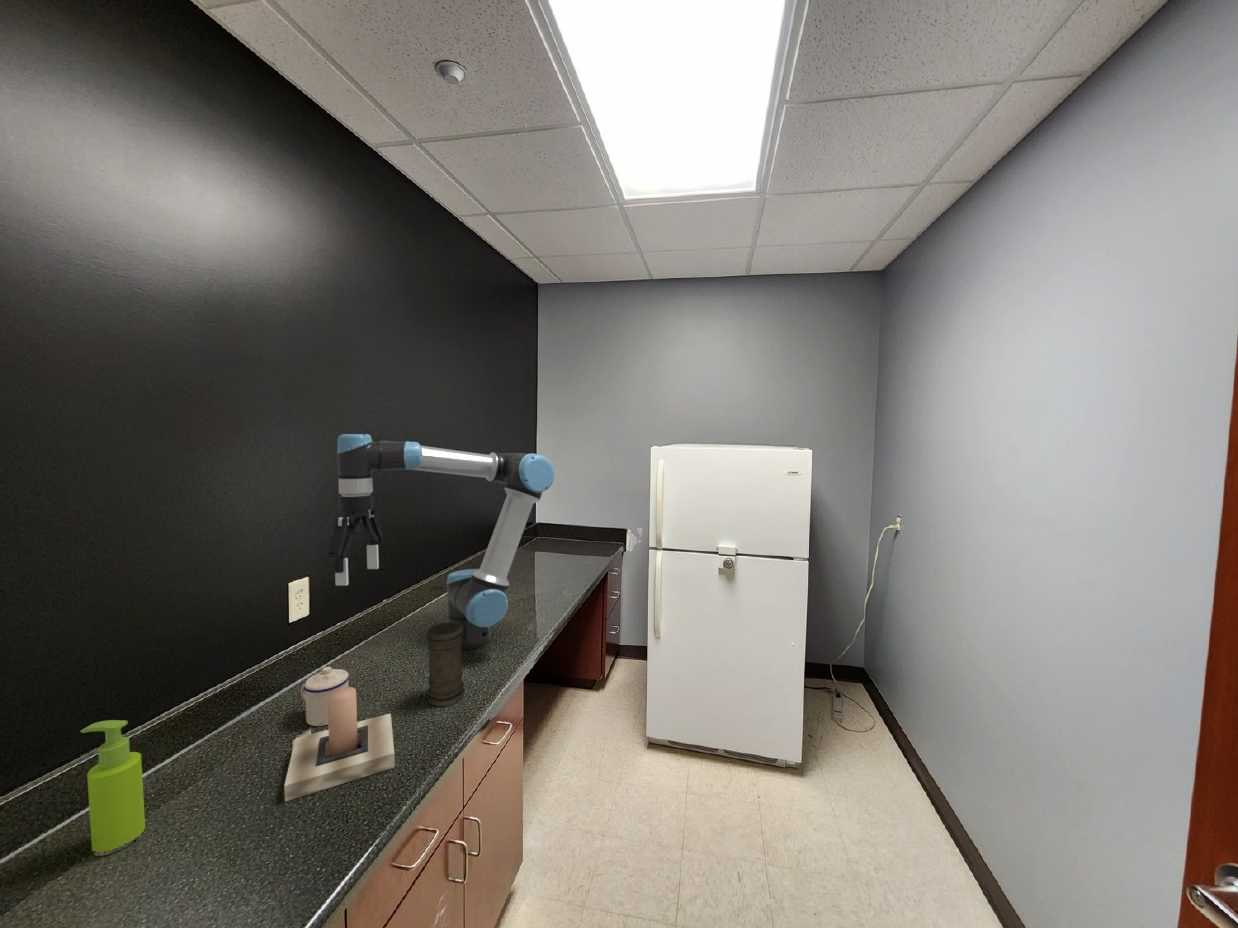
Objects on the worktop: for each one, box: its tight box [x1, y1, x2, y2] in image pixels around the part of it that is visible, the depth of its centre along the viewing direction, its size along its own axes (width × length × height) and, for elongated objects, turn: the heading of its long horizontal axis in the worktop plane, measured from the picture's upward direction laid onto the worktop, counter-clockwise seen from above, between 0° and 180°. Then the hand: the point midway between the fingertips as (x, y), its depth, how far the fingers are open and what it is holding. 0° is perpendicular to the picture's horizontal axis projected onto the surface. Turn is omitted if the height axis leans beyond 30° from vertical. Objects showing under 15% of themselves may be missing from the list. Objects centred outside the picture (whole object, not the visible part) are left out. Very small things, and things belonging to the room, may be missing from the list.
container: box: [426, 621, 465, 707], centre depth 116 cm, size 9×9×18 cm
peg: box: [327, 686, 359, 757], centre depth 93 cm, size 5×5×14 cm
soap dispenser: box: [80, 719, 146, 852], centre depth 74 cm, size 6×7×20 cm
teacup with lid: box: [300, 666, 350, 727], centre depth 108 cm, size 12×9×12 cm
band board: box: [284, 713, 396, 803], centre depth 94 cm, size 18×15×3 cm
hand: (358, 576), depth 117 cm, fingers open, 13 cm apart
